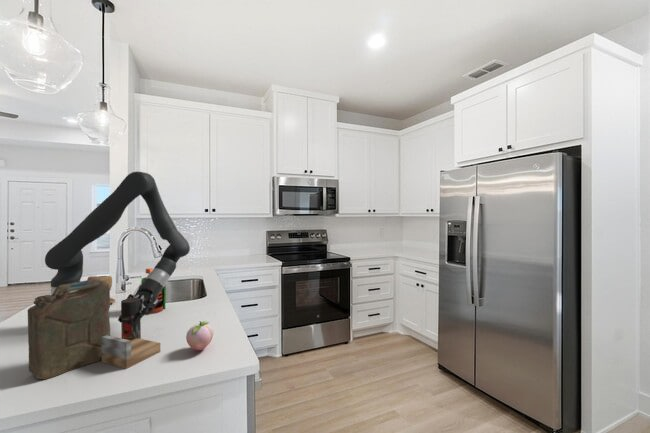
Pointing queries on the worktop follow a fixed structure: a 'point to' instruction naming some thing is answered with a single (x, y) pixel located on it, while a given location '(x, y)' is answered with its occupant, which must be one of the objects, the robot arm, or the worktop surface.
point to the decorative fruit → (199, 335)
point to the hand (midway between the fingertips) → (126, 322)
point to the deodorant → (130, 319)
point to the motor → (161, 297)
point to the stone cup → (106, 279)
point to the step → (127, 351)
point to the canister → (68, 327)
